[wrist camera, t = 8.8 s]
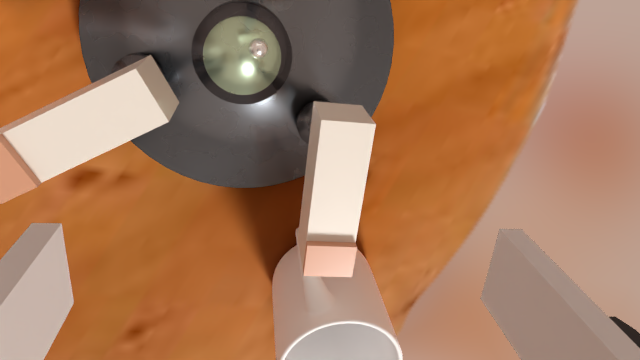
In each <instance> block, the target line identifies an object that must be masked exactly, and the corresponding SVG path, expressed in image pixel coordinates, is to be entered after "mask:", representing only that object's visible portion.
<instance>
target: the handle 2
mask: <svg viewBox="0 0 640 360" xmlns="http://www.w3.org/2000/svg"><path fill="white" fill-rule="evenodd" d="M375 127H376V124H375V122H374V121H373V120H372V118H371V117H370V116H369V114H368V113H367V112H366V110H365V109H364V107H363V106H362V105H352V104H340V103H329V102H317V101H314V102H313V110H312V119H311V122H310V124H309V129H310V136H309V145H308V154H307V162H306V171H305V180H304V189H303V197H302V206H301V215H300V223H299V232H298V244H299V250H300V256H301V263H302V269H303V276H324V277H352V275H353V269H354V263H355V257H356V252H357V245H356V237H357V231H358V225H359V220H360V214H361V208H362V202H363V196H364V191H365V185H366V179H367V173H368V167H369V162H370V156H371V150H372V144H373V138H374V133H375Z"/></svg>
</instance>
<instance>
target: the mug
mask: <svg viewBox="0 0 640 360" xmlns="http://www.w3.org/2000/svg"><path fill="white" fill-rule="evenodd" d="M298 232H299V227H298V228H297V229H296V241H297V245H296V246H295V247H293V248H292V249H290V250H289V251H288V252H287V253H286V254H285V255H284V256H283V257H282V258H281V260H280V261H279V263H278V264H277V266H276V269H275V272H274V275H273V281H272V296H273V314H274V333H275V351H276V360H403V355H402V350H401V348H400V345H399V343H398V340H397V337H396V334H395V332H394V329H393V326H392V324H391V321H390V318H389V316H388V313H387V311H386V308H385V305H384V303H383V300H382V297H381V295H380V292H379V289H378V287H377V284H376V281H375V279H374V276H373V273H372V271H371V268H370V266H369V264H368V262H367V260H366V258H365V257H364V256H363V254H362V253H361V252H360V251H359V250H358V249H357V252H356V257H355V263H354V269H353V275H352V277H324V276H303V269H302V263H301V256H300V250H299V244H298Z"/></svg>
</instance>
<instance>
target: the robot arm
mask: <svg viewBox="0 0 640 360" xmlns="http://www.w3.org/2000/svg"><path fill="white" fill-rule="evenodd" d="M481 300H482V301H483V303H484V305H485V306H486V307H487V309H488V311H489V312H490V314H491V315H492V317H493V318H494V320H495V321H496V323H497V324H498V326H499V327H500V329H501V330H502V332H503V333H504V335H505V336H506V338H507V339H508V341H509V342H510V344H511V345H512V347H513V348H514V350H515V351H516V353H517V354H518V356H519V357H520V359H521V360H640V334H639V333H638V332H637V331H636V330H635V329H633V328H632V327H630V326H629V325H627V324H626V323H624V322H623V321H621V320H619V319H618V318H616V317H608V316H607V315H606V314H605V313H604V312H603V311H602V310H601V309H600V308H599V307H598V306H597V305H596V304H595V303H594V302H593V301H592V300H591V299H590V298H589V297H588V296H587V295H586V294H585V293H584V292H583V291H582V290H581V289H580V288H579V287H578V285H577V284H575V282H574V281H573V280H572V279H570V277H569V276H568V275H567V274H566V273H565V272H564V271H563V270H562V269H561V268H560V267H559V266H558V265H557V264H556V263H555V262H554V261H553V260H552V259H551V258H550V257H549V256H548V255H547V254H546V253H545V252H544V251H543V250H542V249H541V248H540V247H539V246H538V245H537V244H536V243H535V242H534V241H533V240H532V239H531V238H530V237H529V236H528V235H527V234H526V233H525V232H524V231H523V230H522V229H499V233H498V237H497V240H496V244H495V248H494V252H493V255H492V258H491V262H490V266H489V269H488V273H487V277H486V281H485V284H484V288H483V291H482V295H481ZM73 303H74V300H73V294H72V288H71V281H70V275H69V268H68V262H67V256H66V249H65V243H64V237H63V230H62V224H61V223H32V224H31V225H30V226H29V227H28V228H27V230H26V231H25V232H24V233H23V234H22V235H21V237H20V238H19V239H18V240H17V241H16V242H15V244H14V245H13V246H12V247H11V248H10V249H9V251H8V252H7V253H6V254H5V255H4V256H3V258H2V259H1V260H0V360H44V358H45V356H46V354H47V352H48V350H49V349H50V347H51V345H52V343H53V341H54V339H55V337H56V335H57V334H58V332H59V330H60V328H61V326H62V324H63V322H64V320H65V318H66V317H67V315H68V313H69V311H70V309H71V307H72V305H73Z"/></svg>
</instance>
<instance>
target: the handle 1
mask: <svg viewBox="0 0 640 360" xmlns="http://www.w3.org/2000/svg"><path fill="white" fill-rule="evenodd" d="M178 104H179V101H178V99H177V97H176V96H175V94H174V92H173V91H172V89H171V87H170V86H169V84H168V82H167V81H166V79H165V77H164V76H163V74H162V72H161V71H160V69H159V67H158V66H157V64H156V62H155V61H154V59H153V57H152V56H151V55H149V56H147V57H145V58H143V59H141V60H139V61H137V62H135V63H133V64H131V65H129V66H127V67H125V68H123V69H121V70H119V71H116V72H114V73H112V74H110V75H108V76H106V77H104V78H102V79H100V80H98V81H96V82H94V83H92V84H90V85H88V86H86V87H84V88H82V89H80V90H78V91H75V92H73V93H71V94H69V95H67V96H65V97H63V98H61V99H59V100H57V101H55V102H53V103H51V104H49V105H47V106H45V107H43V108H41V109H39V110H36V111H34V112H32V113H30V114H28V115H26V116H24V117H22V118H20V119H18V120H16V121H14V122H12V123H10V124H8V125H6V126H4V127H2V128H0V204H2V203H4V202H7V201H9V200H11V199H13V198H15V197H17V196H19V195H21V194H23V193H26V192H28V191H30V190H32V189H34V188H36V187H38V186H39V185H40V184H41V183H42V182H44V181H46V180H48V179H50V178H52V177H54V176H56V175H58V174H60V173H63V172H65V171H67V170H69V169H71V168H73V167H75V166H77V165H79V164H81V163H84V162H86V161H88V160H90V159H92V158H94V157H96V156H98V155H100V154H103V153H105V152H107V151H109V150H111V149H113V148H115V147H117V146H119V145H121V144H124V143H126V142H128V141H130V140H132V139H134V138H136V137H138V136H140V135H142V134H145V133H147V132H149V131H151V130H153V129H155V128H157V127H159V126H161V125H163V124H166V123H168V122H169V121H170V119H171V117H172V115H173V113H174V111H175V110H176V108H177V106H178Z"/></svg>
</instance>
